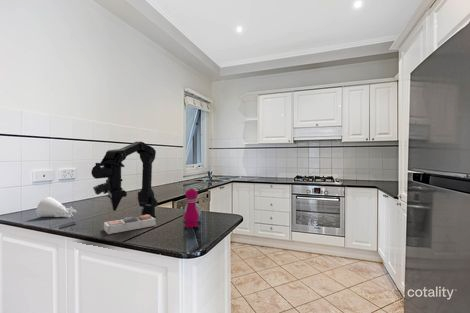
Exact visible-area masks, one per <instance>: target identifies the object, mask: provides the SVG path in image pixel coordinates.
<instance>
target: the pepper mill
mask: <svg viewBox="0 0 470 313" xmlns="http://www.w3.org/2000/svg"><path fill="white" fill-rule="evenodd" d="M198 196H199V194H198V191H197V190H196V189H195V188H194V186H193V185H190V186H189V188H188V189H187V190H186V191H185V197H186V204H187V210H186V212H185V214H184V215H183V220H184V221H185V222H184V227H185V228H186V227H187V229H194V228H193V227H195V228H197V227H198V226H199V222H198V220H200V216H199V215H198V212H197V210H196V203H197V197H198Z"/></svg>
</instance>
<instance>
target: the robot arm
mask: <svg viewBox="0 0 470 313" xmlns="http://www.w3.org/2000/svg"><path fill="white" fill-rule="evenodd" d="M133 153H137V154H138V155H139V159H140V161H141V163H142V173H141V174H142V177H141V178H142V179H141V190H140V191H138V192H137V201H138V202H137V203H138V206H139V207H141V210H140V215H147V214H148V215H150V216H151V217H153V218H157V216H156V207H158V205H159V204H158V203H159V202H158V200H157V199H156V197H155V192H154V190H153V189H152V177H153V176H152V175H153V174H152V173H153V163H154V161H155V160H156V154H157V151H156V149H155V148H154V147H152V146H151V145H149V144H146V143H145V142H144V141H134V142H133V143H131V144H128V145H126V146H123V147H121V148H117V149H109V150H107V151H106V152H105V155H104V156H103V158H102V160H101V161H100V162H96V163H95V165H94V166H93V167H92V169H91V176H92V178H94V179H98V180H99V179H105V182H103V183H100V184H97V185H95V186H93V187H92V188H93V190H94V193H95V194H96V195H101V193H102V194H104V195H105V194H107V195H105V197H107V198H108V199H109V200H110V201H109V202H110V204H111V209H112V211H113V212H115V211H117V208H118V207H119V205H120V202H121V201H122V198H125V197H128V193H127V191H126V190H124V189H123V188H122V182H123V179H122V168H125V165H124V164H123V161H125V160H126V159H127V157H128V156H130V155H132V154H133ZM106 178H107V179H106Z"/></svg>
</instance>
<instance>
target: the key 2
mask: <svg viewBox="0 0 470 313" xmlns="http://www.w3.org/2000/svg"><path fill="white" fill-rule="evenodd" d="M138 217H139V220H141V221H142V220H149V219H151V216H150V215H148V214H147V215H141V214H140V215H138Z"/></svg>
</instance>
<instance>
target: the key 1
mask: <svg viewBox="0 0 470 313" xmlns="http://www.w3.org/2000/svg"><path fill="white" fill-rule="evenodd" d="M115 221H116V220H115ZM108 222H109V221H108ZM118 224H121V222H119V221H116V222H109V223H108V225H109V226H111V225H118Z"/></svg>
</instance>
